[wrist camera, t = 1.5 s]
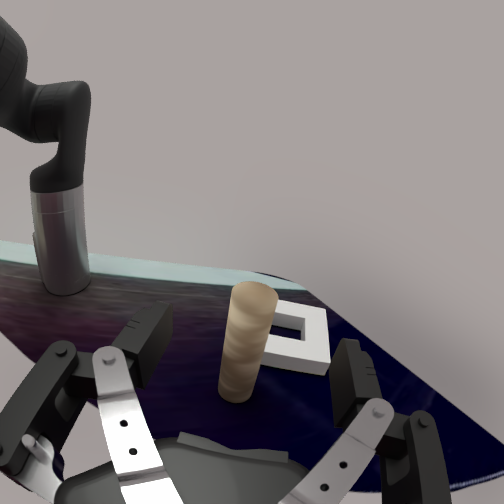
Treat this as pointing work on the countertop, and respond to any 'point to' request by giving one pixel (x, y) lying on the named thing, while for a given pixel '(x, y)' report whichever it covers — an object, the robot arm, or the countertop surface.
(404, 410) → the countertop surface
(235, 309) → the peg
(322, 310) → the socket plate
